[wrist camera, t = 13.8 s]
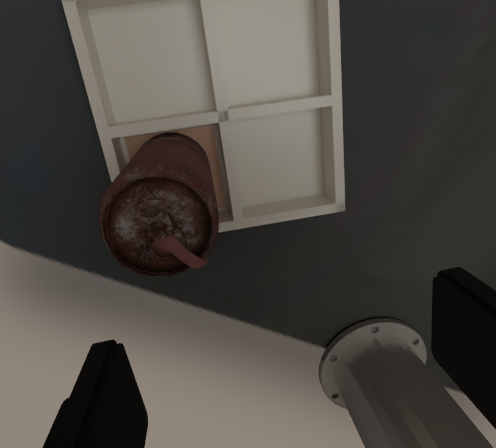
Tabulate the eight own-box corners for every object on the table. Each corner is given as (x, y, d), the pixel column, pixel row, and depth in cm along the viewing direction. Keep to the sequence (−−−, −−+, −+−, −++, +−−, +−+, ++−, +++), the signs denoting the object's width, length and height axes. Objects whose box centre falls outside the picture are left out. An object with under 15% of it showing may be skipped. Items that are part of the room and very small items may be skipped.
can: (185, 217, 33) (179, 305, 20) (122, 176, 31) (69, 244, 18) (226, 162, 31) (248, 219, 19) (163, 116, 29) (138, 142, 16)
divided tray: (331, 198, 35) (345, 210, 32) (135, 231, 33) (129, 247, 30) (321, -30, 28) (337, -44, 25) (74, -1, 27) (58, -13, 23)
